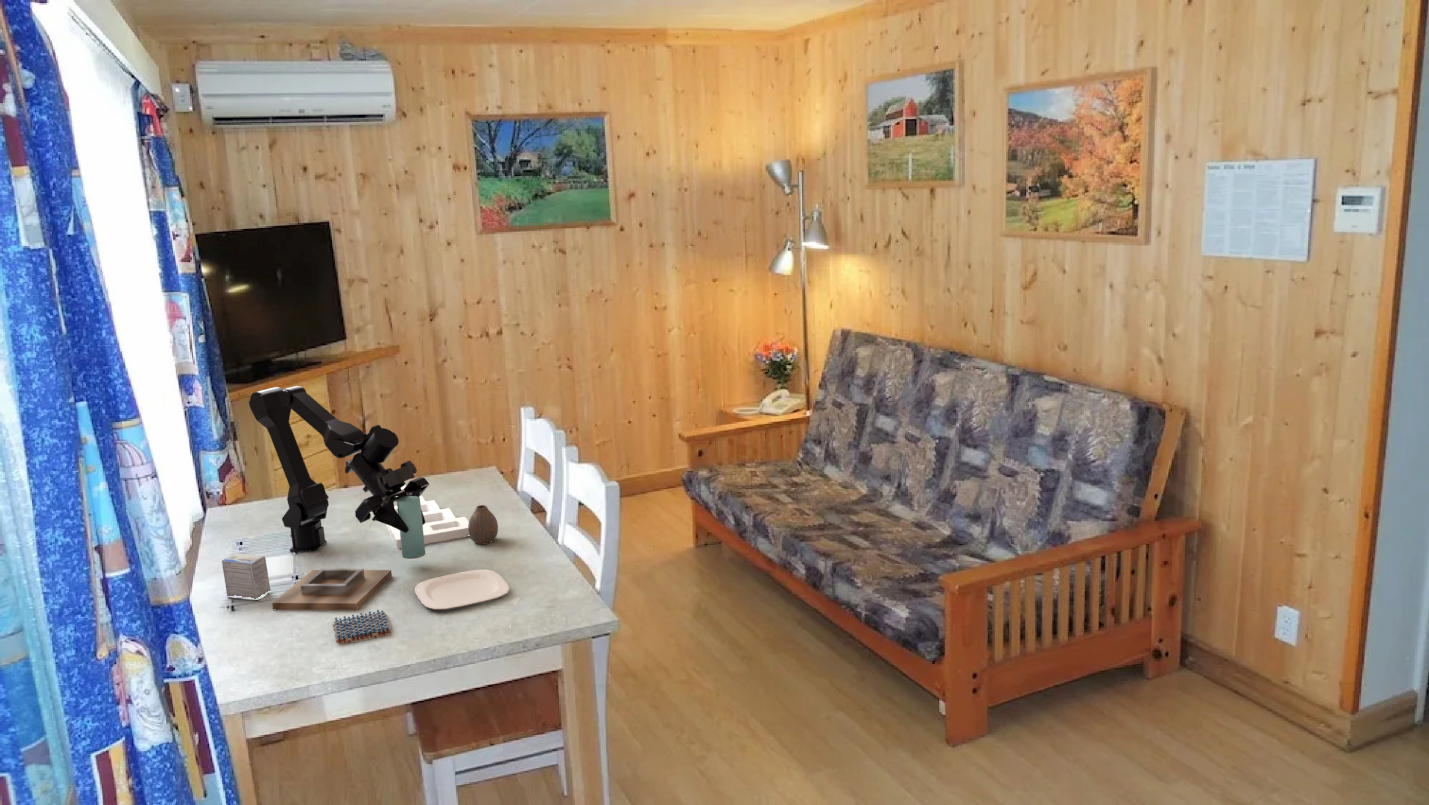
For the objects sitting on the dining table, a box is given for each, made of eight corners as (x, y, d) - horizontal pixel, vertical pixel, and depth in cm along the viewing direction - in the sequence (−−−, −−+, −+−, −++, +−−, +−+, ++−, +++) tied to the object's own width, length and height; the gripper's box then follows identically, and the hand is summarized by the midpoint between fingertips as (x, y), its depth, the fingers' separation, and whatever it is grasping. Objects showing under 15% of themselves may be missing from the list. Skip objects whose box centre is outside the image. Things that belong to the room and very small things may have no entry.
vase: (492, 547, 248) (489, 511, 246) (464, 546, 249) (461, 510, 247) (503, 537, 254) (500, 502, 252) (476, 536, 256) (473, 501, 254)
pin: (398, 558, 235) (393, 503, 232) (407, 550, 239) (401, 496, 237) (420, 558, 234) (415, 503, 231) (428, 550, 239) (423, 496, 236)
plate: (429, 620, 209) (428, 612, 209) (409, 589, 225) (408, 582, 225) (517, 600, 217) (516, 592, 217) (492, 572, 233) (491, 565, 233)
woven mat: (336, 648, 198) (334, 638, 198) (332, 627, 208) (331, 617, 208) (393, 637, 202) (392, 627, 202) (387, 617, 212) (386, 607, 212)
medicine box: (271, 593, 225) (266, 555, 223) (256, 602, 221) (251, 563, 219) (242, 590, 227) (236, 552, 225) (226, 598, 223) (220, 559, 221)
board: (273, 609, 216) (270, 593, 215) (313, 576, 234) (311, 561, 233) (357, 610, 214) (355, 594, 214) (391, 576, 232) (390, 561, 231)
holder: (373, 499, 289) (372, 490, 289) (439, 489, 296) (439, 480, 296) (397, 550, 249) (396, 540, 249) (473, 537, 256) (472, 527, 256)
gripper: (359, 464, 225) (403, 519, 223) (419, 442, 241) (461, 494, 239) (336, 495, 230) (379, 549, 228) (396, 472, 247) (437, 522, 244)
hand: (415, 527), depth 235 cm, fingers closed on pin, 5 cm apart
